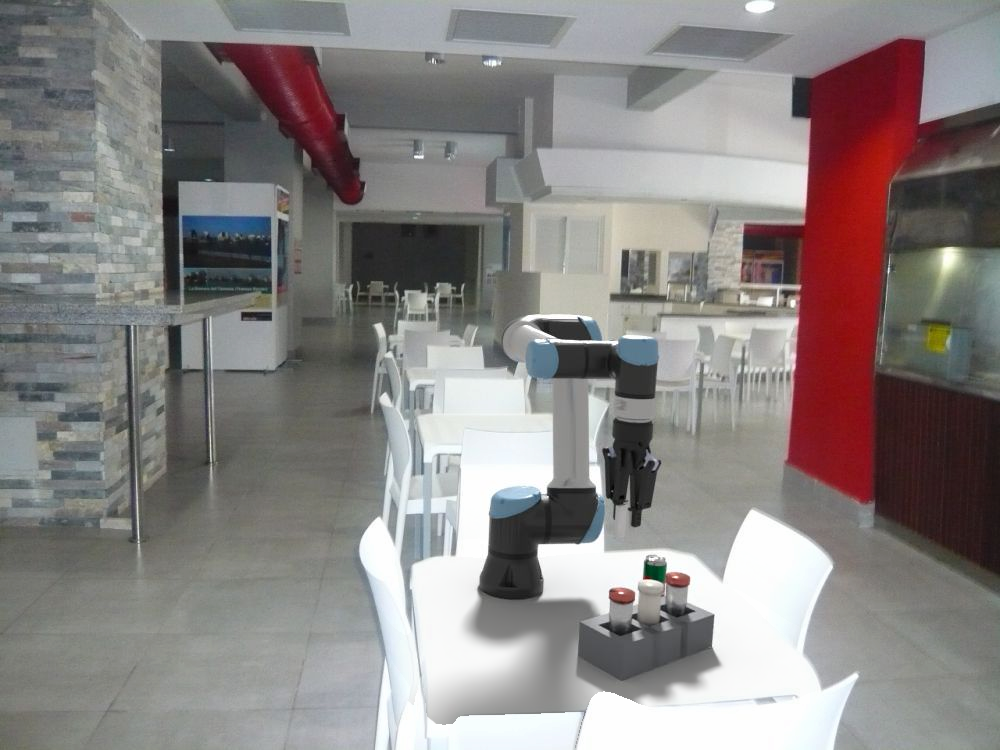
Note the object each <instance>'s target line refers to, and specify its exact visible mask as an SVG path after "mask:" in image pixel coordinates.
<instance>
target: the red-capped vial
mask: <svg viewBox="0 0 1000 750" xmlns="http://www.w3.org/2000/svg"><path fill="white" fill-rule="evenodd" d="M608 599H609V612H608V613H609V626H608V630H609V631H611V632H613V633H615V634H617V635H619V636H623V635H626V634H629V633H631V627H632V612H633V606H634V603H635V601H636V592H635V591H634V590H633V589H630V588H626V587H612V588H610V589H609V591H608Z"/></svg>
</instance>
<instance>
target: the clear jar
mask: <svg viewBox="0 0 1000 750" xmlns="http://www.w3.org/2000/svg"><path fill="white" fill-rule="evenodd" d="M665 582H666V585H665V607H664V612H665V613H668V614H670V615H672V616H674V617H676V618H677V617H681V616H684V615H686V609H687V603H688V593H689V586H690V585H691V584H690V583H691V577H690V575H688V574H686V573H683V572H679V571H678V572H677V571H671V572H666V575H665Z"/></svg>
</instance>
